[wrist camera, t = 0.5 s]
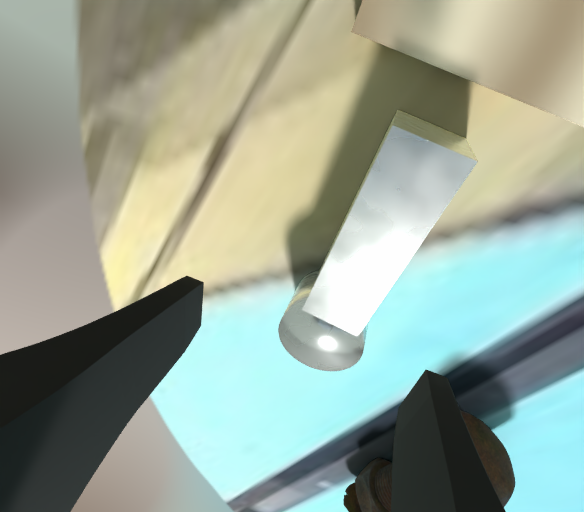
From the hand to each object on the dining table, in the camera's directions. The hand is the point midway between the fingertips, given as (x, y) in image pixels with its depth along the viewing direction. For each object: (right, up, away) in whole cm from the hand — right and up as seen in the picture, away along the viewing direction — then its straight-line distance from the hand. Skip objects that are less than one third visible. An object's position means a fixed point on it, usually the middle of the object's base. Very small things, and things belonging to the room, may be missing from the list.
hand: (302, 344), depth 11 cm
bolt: (+9, -13, +17) cm, 23 cm away
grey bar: (+4, +3, +8) cm, 10 cm away
